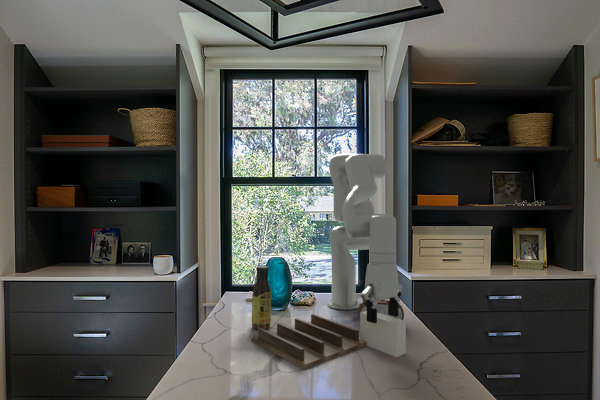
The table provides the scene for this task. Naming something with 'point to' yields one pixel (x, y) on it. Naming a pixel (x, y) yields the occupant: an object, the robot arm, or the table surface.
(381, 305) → the tin
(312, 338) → the dish rack
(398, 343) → the white rectangular box
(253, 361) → the table surface
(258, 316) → the sauce bottle
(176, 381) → the table surface
